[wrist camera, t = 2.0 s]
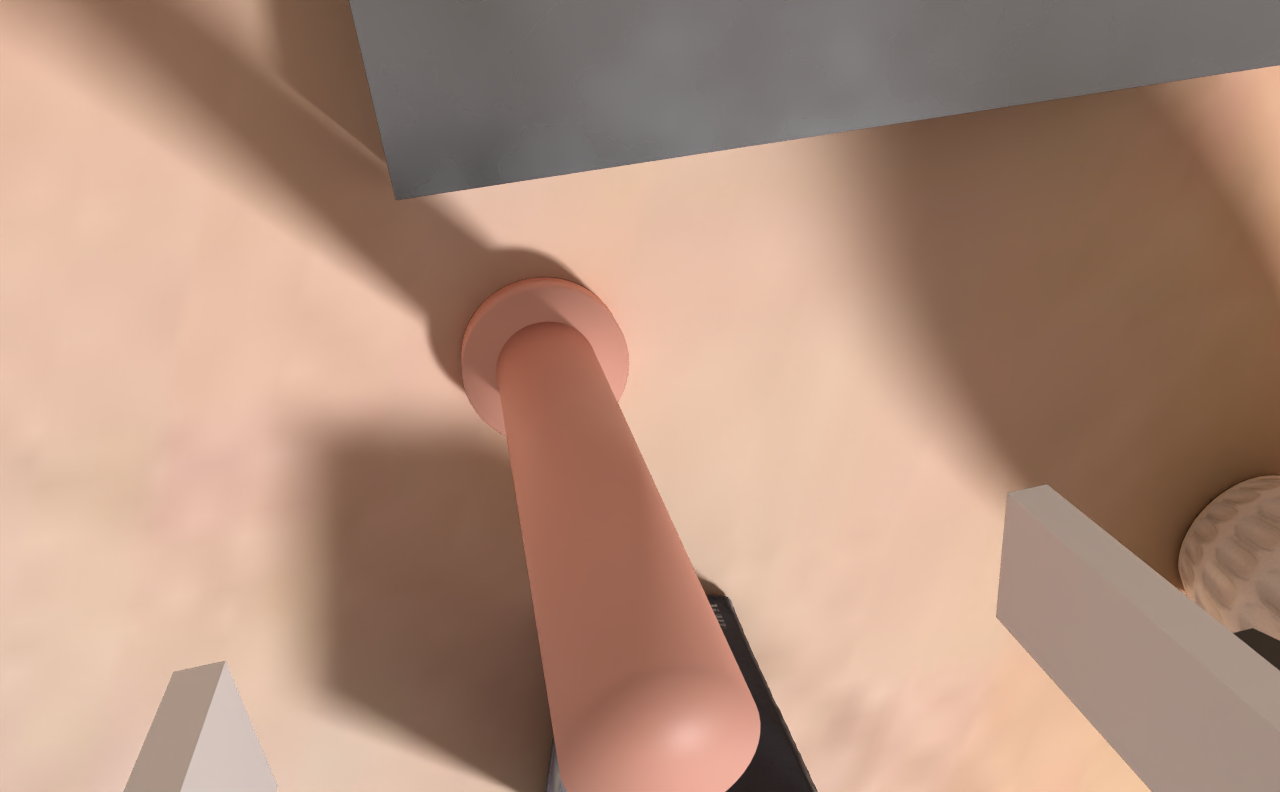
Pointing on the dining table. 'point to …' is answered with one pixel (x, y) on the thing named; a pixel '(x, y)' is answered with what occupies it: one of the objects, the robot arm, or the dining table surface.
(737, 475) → the dining table surface
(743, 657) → the small box
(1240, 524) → the vase
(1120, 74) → the grey slotted plate
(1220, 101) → the dining table surface
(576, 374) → the stud
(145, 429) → the dining table surface
